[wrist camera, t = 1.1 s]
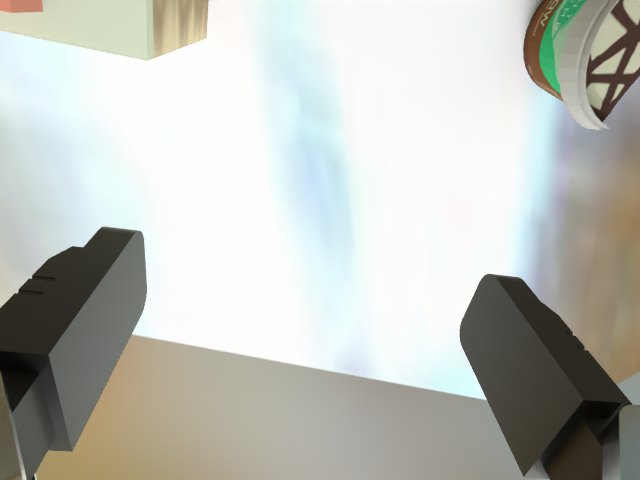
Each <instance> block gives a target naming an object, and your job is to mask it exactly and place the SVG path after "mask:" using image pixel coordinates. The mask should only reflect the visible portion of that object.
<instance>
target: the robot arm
mask: <svg viewBox="0 0 640 480" xmlns="http://www.w3.org/2000/svg"><path fill="white" fill-rule="evenodd" d="M146 294H147V283H146V266H145V250H144V238H143V234H142V232H141V231H136V230H128V229H119V228H111V227H102V228H100V229H99V230H98V231H97V233H96V234H95V235H94V236H93V237H92V238H91V239H90V241H89V242H88V243H87V244H86V245H85V246H84V247H74V246H72V247H70V248H69V249H67V250H65V251H63V252H61V253H59V254H57V255H55V256H53V257H51V258H49V259H48V260H47V261H46V262H45V263H44V264H43V265H42V266H41V267H40V268H39V269H38V270H37V271H36V272H35V273H34V274H33V275H32V279H28V280H27V281H26V283H25V284H24V285H23V286H22V287H21V288H20V289H19V292H18V294H16V293H15V294H14V295H13V296H12V297H11V298H10V299H9V300H8V301H7V302H6V303H5V304H4V305H3V306H2V307H1V308H0V480H37V477H36V474H35V473H36V471H37V469H38V467H39V465H40V463H41V462H42V460H43V458H44V456H45V455H46V453H47V451H48V450H54V451H73V449H74V447H75V445H76V443H77V441H78V439H79V437H80V435H81V433H82V431H83V429H84V427H85V425H86V423H87V421H88V419H89V417H90V415H91V413H92V411H93V409H94V407H95V405H96V403H97V401H98V399H99V397H100V395H101V394H102V392H103V389H104V388H105V386H106V383H107V382H108V380H109V378H110V376H111V374H112V372H113V370H114V368H115V366H116V364H117V362H118V360H119V358H120V356H121V354H122V351H123V350H124V348H125V346H126V344H127V342H128V340H129V338H130V336H131V334H132V332H133V330H134V328H135V326H136V324H137V322H138V320H139V318H140V316H141V314H142V312H143V309H144V305H145V301H146ZM572 333H573V332H572V331H571V330H570V329H569V327H568V326H567V325H566V324H565V323H564V321H563V320H562V319H561V318H560V317H559V315H557V314H556V313H555V312H553V311H552V310H551V309H550V308H548V307H547V306H546V305H544V304H543V303H542V302H541V301H540V300H539V299H538V298H537V297H536V295H535V294H534V293H533V292H532V290H531V289H530V288H529V287H528V286H527V284H526V283H525V282H524V281H523V280H522V279H521V278H518V277H511V276H503V275H494V274H487V275H485V276H484V277H483V278H482V279H481V281H480V283H479V285H478V287H477V289H476V291H475V294H474V296H473V298H472V300H471V302H470V304H469V306H468V309H467V311H466V313H465V315H464V317H463V319H462V322H461V326H460V341H461V345H462V348H463V350H464V352H465V354H466V356H467V358H468V360H469V362H470V365H471V367H472V369H473V371H474V373H475V375H476V377H477V379H478V381H479V384H480V386H481V388H482V390H483V392H484V394H485V396H486V398H487V400H488V403H489V405H490V407H491V409H492V411H493V413H494V415H495V417H496V419H497V421H498V423H499V426H500V428H501V430H502V432H503V434H504V436H505V438H506V441H507V443H508V445H509V447H510V449H511V451H512V453H513V455H514V457H515V460H516V462H517V464H518V466H519V468H520V470H521V472H522V474H523V476H524V477H530V478H549V479H550V480H640V405H632V403H631V402H630V401H629V400H628V398H627V397H626V396H625V395H624V394H623V392H622V391H621V390H620V389H619V388H618V386H617V385H616V384H615V383H614V382H613V380H612V379H611V378H610V377H609V376H608V374H607V373H606V372H605V371H604V370H603V368H602V367H601V366H600V365H599V364H598V362H597V361H596V360H595V359H594V357H593V356H592V355H591V354H590V353H589V351H586V350H584V345H583V344H582V343H581V342H580V341H579V339H578V338H577V337H576V336H573V335H572Z"/></svg>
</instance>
